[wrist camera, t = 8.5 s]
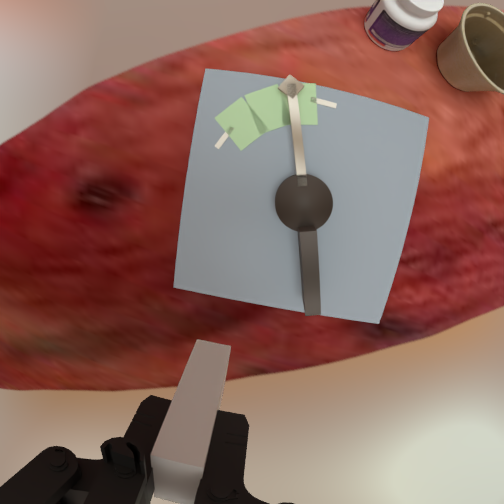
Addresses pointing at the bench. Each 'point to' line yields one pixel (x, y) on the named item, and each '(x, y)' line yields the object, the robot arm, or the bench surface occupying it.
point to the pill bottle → (400, 21)
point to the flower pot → (475, 51)
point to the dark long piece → (303, 205)
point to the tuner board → (275, 172)
